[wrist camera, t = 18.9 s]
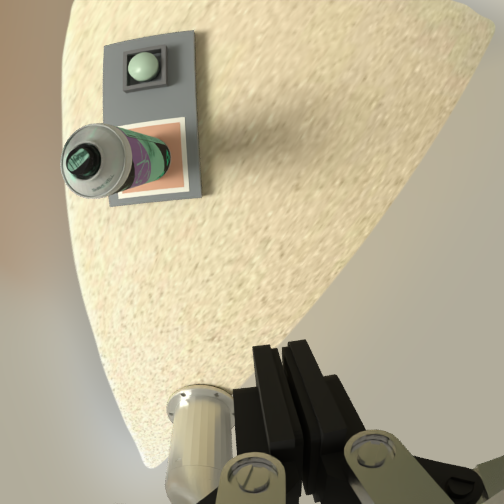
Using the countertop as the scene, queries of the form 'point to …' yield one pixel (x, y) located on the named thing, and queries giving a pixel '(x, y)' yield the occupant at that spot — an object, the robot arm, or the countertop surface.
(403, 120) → the countertop surface
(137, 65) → the button
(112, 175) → the spray can
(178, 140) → the picture board
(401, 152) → the countertop surface
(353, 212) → the countertop surface
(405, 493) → the robot arm
